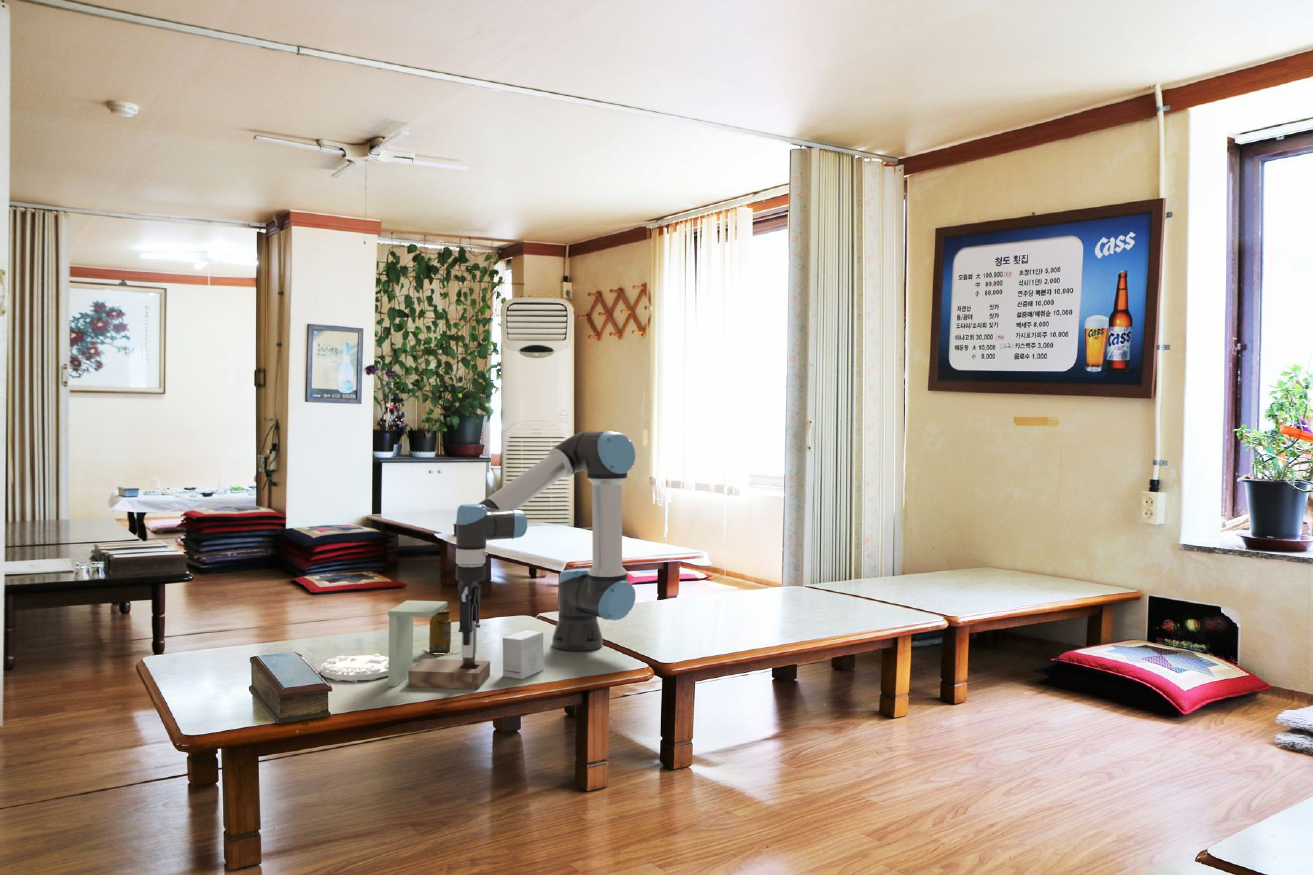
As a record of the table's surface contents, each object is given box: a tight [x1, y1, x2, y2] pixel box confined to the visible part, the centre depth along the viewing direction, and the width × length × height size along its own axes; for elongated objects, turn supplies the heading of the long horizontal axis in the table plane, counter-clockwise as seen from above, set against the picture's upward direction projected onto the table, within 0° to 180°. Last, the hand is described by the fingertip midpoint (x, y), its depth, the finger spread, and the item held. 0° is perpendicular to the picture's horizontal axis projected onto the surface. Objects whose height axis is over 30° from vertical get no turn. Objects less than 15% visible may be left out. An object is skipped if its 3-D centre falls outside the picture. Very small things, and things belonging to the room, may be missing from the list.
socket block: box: [407, 658, 491, 690], centre depth 242 cm, size 18×12×4 cm, turn 86°
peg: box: [462, 620, 476, 669], centre depth 242 cm, size 3×3×14 cm
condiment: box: [424, 608, 460, 657], centre depth 272 cm, size 7×8×12 cm
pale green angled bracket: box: [387, 600, 448, 688], centre depth 243 cm, size 11×14×19 cm
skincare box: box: [502, 629, 545, 680], centre depth 251 cm, size 10×6×10 cm, turn 152°
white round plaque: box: [320, 653, 389, 683], centre depth 250 cm, size 20×20×3 cm
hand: (469, 655), depth 242 cm, fingers closed on peg, 3 cm apart
